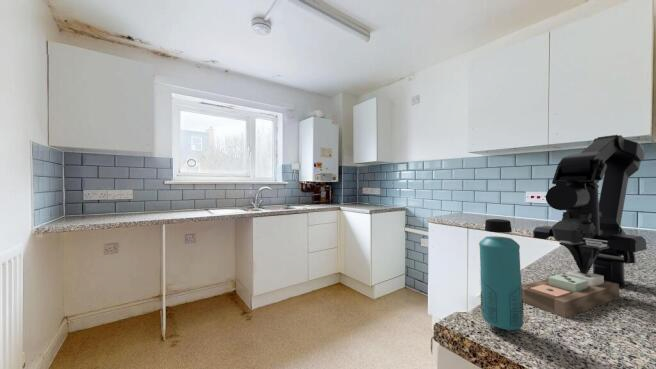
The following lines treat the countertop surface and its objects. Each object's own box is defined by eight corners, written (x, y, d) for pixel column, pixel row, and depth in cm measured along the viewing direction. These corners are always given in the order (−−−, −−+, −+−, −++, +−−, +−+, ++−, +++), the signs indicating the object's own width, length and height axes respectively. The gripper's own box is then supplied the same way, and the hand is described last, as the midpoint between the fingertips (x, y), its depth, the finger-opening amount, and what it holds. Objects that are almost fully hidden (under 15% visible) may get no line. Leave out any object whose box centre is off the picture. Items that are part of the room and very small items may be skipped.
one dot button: (543, 295, 61) (543, 283, 61) (570, 303, 56) (570, 291, 56) (530, 299, 59) (530, 287, 59) (557, 308, 54) (556, 295, 54)
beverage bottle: (532, 341, 44) (528, 221, 44) (488, 337, 45) (485, 221, 46) (513, 321, 51) (510, 217, 51) (475, 319, 52) (472, 217, 52)
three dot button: (561, 284, 63) (560, 273, 63) (588, 291, 59) (587, 280, 59) (548, 288, 61) (548, 276, 61) (575, 295, 57) (575, 283, 57)
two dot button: (577, 280, 66) (576, 269, 66) (604, 286, 61) (603, 275, 62) (565, 283, 64) (565, 272, 64) (592, 290, 60) (592, 278, 60)
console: (570, 284, 68) (570, 272, 69) (619, 297, 60) (619, 284, 60) (516, 300, 60) (516, 286, 60) (565, 317, 52) (564, 302, 52)
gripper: (519, 207, 69) (521, 267, 68) (620, 213, 51) (623, 293, 51) (544, 205, 73) (546, 262, 73) (646, 209, 56) (649, 284, 56)
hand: (584, 273), depth 63 cm, fingers closed
